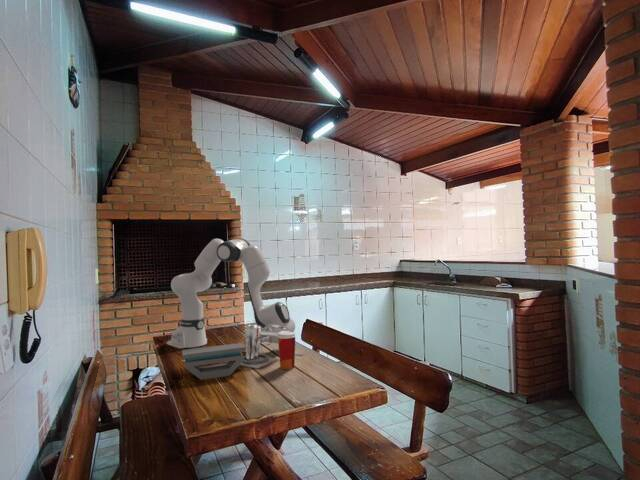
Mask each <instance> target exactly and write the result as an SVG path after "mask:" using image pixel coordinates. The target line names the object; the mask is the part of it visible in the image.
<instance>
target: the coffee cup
mask: <svg viewBox="0 0 640 480" xmlns="http://www.w3.org/2000/svg"><path fill="white" fill-rule="evenodd" d="M277 337H278V343H277V344H278V354H279V365H280V369H281V370H286V371H287V370H289V371H290V370H292V369H294V368H295V359H296V358H295V357H296V355H295V354H296V337H297V334H296V332H295V331H294V332H292V331H283V332H279V333H278V336H277Z"/></svg>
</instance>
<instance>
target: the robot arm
mask: <svg viewBox="0 0 640 480" xmlns="http://www.w3.org/2000/svg"><path fill="white" fill-rule="evenodd" d="M221 261H222V262H223V263H225V262H226V263H231V262H238V261H240V262H241V263H243V265H244V268H245V270H246V273H247V278H248V281H247V283H246V284H247V286H246V287H247V291H248V295H249V298H250V303H251V306H252V310H253V316H254V321H255V325H260V326H261V327H262V336H261V338H260V343H264V344H265V343H271V344H278V337H277V336H278V333H279V332H283V331H292V332H295V329H296V324H295V323H296V322H295V321H294V320H293V319H292V318H291V317H290V311H289V308H288V307H287V306H286V305H285V303H282V302H281V301H277V302H274V303H271V304H270V305H267V306H264V303H263V299H262V296H261V289H262V286H263V284H264V283H266V281H267V280H268V278H269V277H270V267H269V265H268V263H267V260H266V258H265V256H264V254H263V252H262V251H261V249H260V248H259V247H258V246H257V245H255V244H254V245H252V244H251V243H250V242H249V241H248V240H246V239H244V238H235V239H231V240H227V241H224V240H223V239H221V238H213V239H211V240H210V242H208V244H206V246H205V247H204V248H203V250H202V251H201V252H200V254H199V255H198V257H197V258H196V260H195V261H194V263H193V264H194V267H195V270H194V271H192V272H188V273H182V274H179V275H176V276H174V277H173V278H172V280H171V282H170V288H171V290H172V292H173V293H174V294H175V295H176V296H177V297H178V299H179V301H180V304H181V317H182V319H179V320H178V322H179V326H178V327H177V328H176V329H174V331H173V332H172V334H171V340H169V341H167V342H166V345H168V346H170V347H171V346H172V348H173V347H174V348H177V349H186V348H188V349H190V348H199V347H202V346H205V345H207V344H208V338H207V334H206V326H205V317H204V303H203V302H202V301H201V300H200V299H199V297H198V294H197V293H200V292H204V291H207V290H208V289H210V288H211V287H212V284H213V279H212V275H213V273H214V271H215V270H216V269H217V267H218V266H219V265H220V263H221ZM246 332H247V330H244V341H246Z"/></svg>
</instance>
